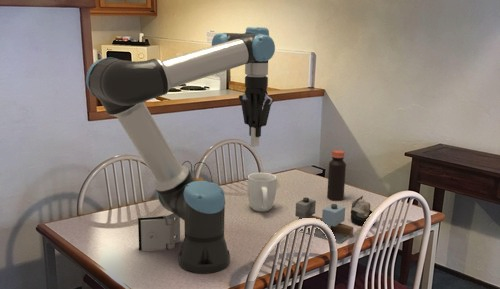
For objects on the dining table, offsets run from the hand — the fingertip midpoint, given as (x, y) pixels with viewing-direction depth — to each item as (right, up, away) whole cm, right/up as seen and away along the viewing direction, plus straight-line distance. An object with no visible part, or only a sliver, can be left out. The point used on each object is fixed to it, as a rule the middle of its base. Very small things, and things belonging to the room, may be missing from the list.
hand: (254, 145), depth 168 cm
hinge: (-30, -32, -9) cm, 45 cm away
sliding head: (+27, -28, +5) cm, 39 cm away
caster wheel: (+40, -28, +16) cm, 51 cm away
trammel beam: (+25, -29, +7) cm, 39 cm away
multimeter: (-23, -24, +24) cm, 41 cm away
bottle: (+34, -22, +39) cm, 56 cm away
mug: (+3, -25, +24) cm, 35 cm away
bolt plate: (+22, -30, +4) cm, 37 cm away
